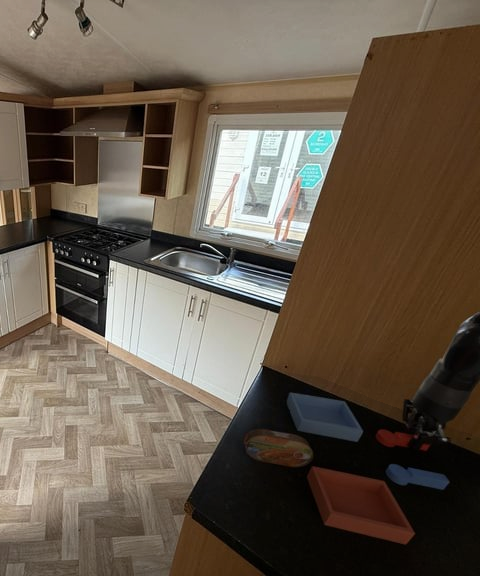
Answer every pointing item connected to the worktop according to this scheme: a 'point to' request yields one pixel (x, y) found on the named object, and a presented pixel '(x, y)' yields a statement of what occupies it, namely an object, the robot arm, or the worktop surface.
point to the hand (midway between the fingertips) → (409, 443)
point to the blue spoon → (416, 477)
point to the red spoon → (396, 439)
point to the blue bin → (323, 417)
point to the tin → (278, 448)
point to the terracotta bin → (358, 505)
